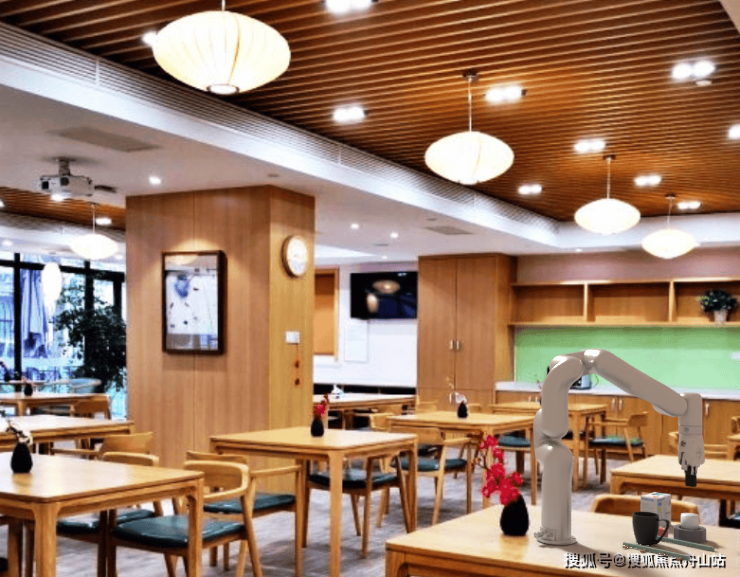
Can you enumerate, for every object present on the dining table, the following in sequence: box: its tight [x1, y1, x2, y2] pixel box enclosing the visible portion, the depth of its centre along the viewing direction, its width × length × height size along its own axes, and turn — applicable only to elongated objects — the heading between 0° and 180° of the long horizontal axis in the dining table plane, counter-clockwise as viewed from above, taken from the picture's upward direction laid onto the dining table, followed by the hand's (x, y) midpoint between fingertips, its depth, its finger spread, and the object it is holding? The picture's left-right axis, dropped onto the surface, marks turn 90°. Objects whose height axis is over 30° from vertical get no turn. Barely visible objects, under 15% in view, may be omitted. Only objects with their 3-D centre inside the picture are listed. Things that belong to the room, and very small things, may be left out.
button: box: [680, 512, 700, 530], centre depth 294 cm, size 6×6×5 cm
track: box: [622, 536, 715, 562], centre depth 282 cm, size 20×22×1 cm
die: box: [657, 527, 669, 538], centre depth 297 cm, size 3×3×3 cm
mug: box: [631, 510, 671, 547], centre depth 287 cm, size 8×12×10 cm
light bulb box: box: [640, 491, 672, 528], centre depth 315 cm, size 11×7×11 cm, turn 136°
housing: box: [672, 523, 707, 545], centre depth 294 cm, size 10×10×4 cm
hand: (690, 486), depth 295 cm, fingers closed
